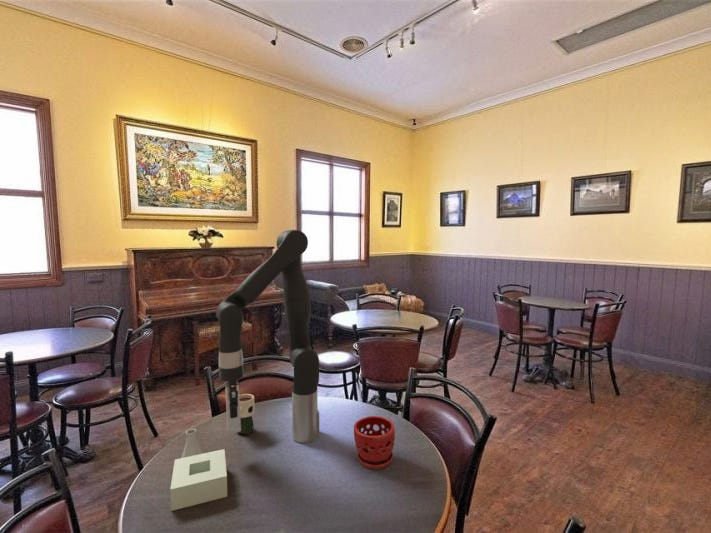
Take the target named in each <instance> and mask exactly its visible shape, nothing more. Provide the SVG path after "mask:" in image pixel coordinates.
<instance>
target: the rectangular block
mask: <svg viewBox="0 0 711 533" xmlns="http://www.w3.org/2000/svg"><path fill="white" fill-rule="evenodd" d="M224 389H225V404H226V406H225V407H226V429H227V434H228V435H230V434H235V433H238V432H240V431H241V420H240V398H238V407H237V414H238V416H237V417H236V418H230V407H229V400H228V399H227V391H226V386H225V388H224ZM236 391H237V390H236ZM238 394H239V395H240V388H239V389H238ZM232 403H236V402H232Z"/></svg>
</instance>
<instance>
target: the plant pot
mask: <svg viewBox="0 0 711 533" xmlns="http://www.w3.org/2000/svg"><path fill="white" fill-rule="evenodd" d="M382 425H383V427H382ZM368 426H369V427H368ZM374 426H378V430H376V429H374ZM362 429H363V430H362ZM395 430H396V429H395V424H394V423H393V422H392V420H391V419H389V418H386V417H384V416H377V415H373V416H372V415H369V416H365V417H363V418H361V419H359V420H357V421H356V422H355V423H354V425H353V435H354V436H353V437H354V444H355V447H356V450H357V459H358V461H359V463H361V465H362V466H364V467H365V468H368V469H371V470H373V469H374V470H376V469H377V470H379V469H383V468H386V467H387V466H389V465H390V464H391V463H392V461H393V459H394V453H393V450H394V446H395V438H396V436H395V435H396V434H395V433H396V431H395ZM370 432H371V433H370ZM382 432H384V433H382Z"/></svg>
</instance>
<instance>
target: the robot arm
mask: <svg viewBox="0 0 711 533" xmlns="http://www.w3.org/2000/svg"><path fill="white" fill-rule="evenodd" d="M308 245H309V240H308V236H307V235H306V234H305V232H303V231H301V230H298V229H288V230H284V231H282V232H281V233H280V234H278V237H277V238H276V250H275V251H274V252H273V253H272V255H270V257H268V259H266V260H265V261H264V262H263V263H262V264H260V265H259V266H257V268H256V269H254V270H253V271H252V272H251V273H250V274H249V275H248V276H247V277H246V278H245V279H244V280H243V281H242V282H241V283H240V284H239V286H238V287H237V288H236V289H235V290H234V291H233V292H231V294H228V296H227V297H226V298H225V299H223V300H222V302H220V304H219V305H218V306H217V307H216V310H215V316H216V318H217V320H218V321H219V335H218V376H219V380H220V381H222V382H225V387H226V389H225V392H226V391H227V399H228V400H229V407H230V418H236V417H237V416H238V414H237V407H238V398H239V395H240V393H239V394H238V389H239V390H240V385H239V384H240V383H239V381H238V380H241V379H242V378H243V377H244V375H245V374H244V373H245V372H244V355H243V354H244V353H243V346H242V344H243V342H242V329H243V312H242V311H244V310H245V308H246V307H247V306H248V305H251V304H253V303H254V302H256V300H257V299H258V298H259V297H260V296H261V294H263V292H264V291H265V290H266V289H267V288H268V287H269V285H270V284H271V283H272V282H274V280H275V279H276V278H277V277H278V276H279V274H281V280H282V289H283V290H282V291H283V292H282V293H283V302H284V303H283V304H284V311H285V316H286V324H287V328H288V335H289V361H290V364H291V366H292V367H293V382H292V383H291V415H292V416H291V423H292V428H291V430H292V432H291V433H292V439H293V440H294V441H295V442H297V443H310V442H313V441H315V440H316V439H318V438H320V437H321V436H320V433H321V432H320V410H319V409H318V406H319V405H318V404H319V403H318V385H319V382H320V381H319V380H320V358H319V355H318V353H317V352H316V351H315V350H314V349H313V348H312V343H311V339H310V330H309V329H310V322H311V316H312V315H311V313H312V303H311V294H310V290H309V286H308V283H307V280H306V277H305V275H304V273H303V269H302V264H301V262H302V261H301V256H302V255H303V254H304V253H305V252H306V251H307V249H308ZM236 390H237V391H236ZM232 402H236V403H232Z"/></svg>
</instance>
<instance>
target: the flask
mask: <svg viewBox="0 0 711 533" xmlns="http://www.w3.org/2000/svg"><path fill="white" fill-rule="evenodd" d="M197 431H198V430H197V429H196V428H189V429H187V430H186V431H185V435H186V439H185V440H186V441H185V445H184V448H183V451H182V454H181V457H180V458H185V457H189V456H194V455H199V454H204V452H203V450H202V448H201V446H200V444H199V442H198V439H197Z"/></svg>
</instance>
